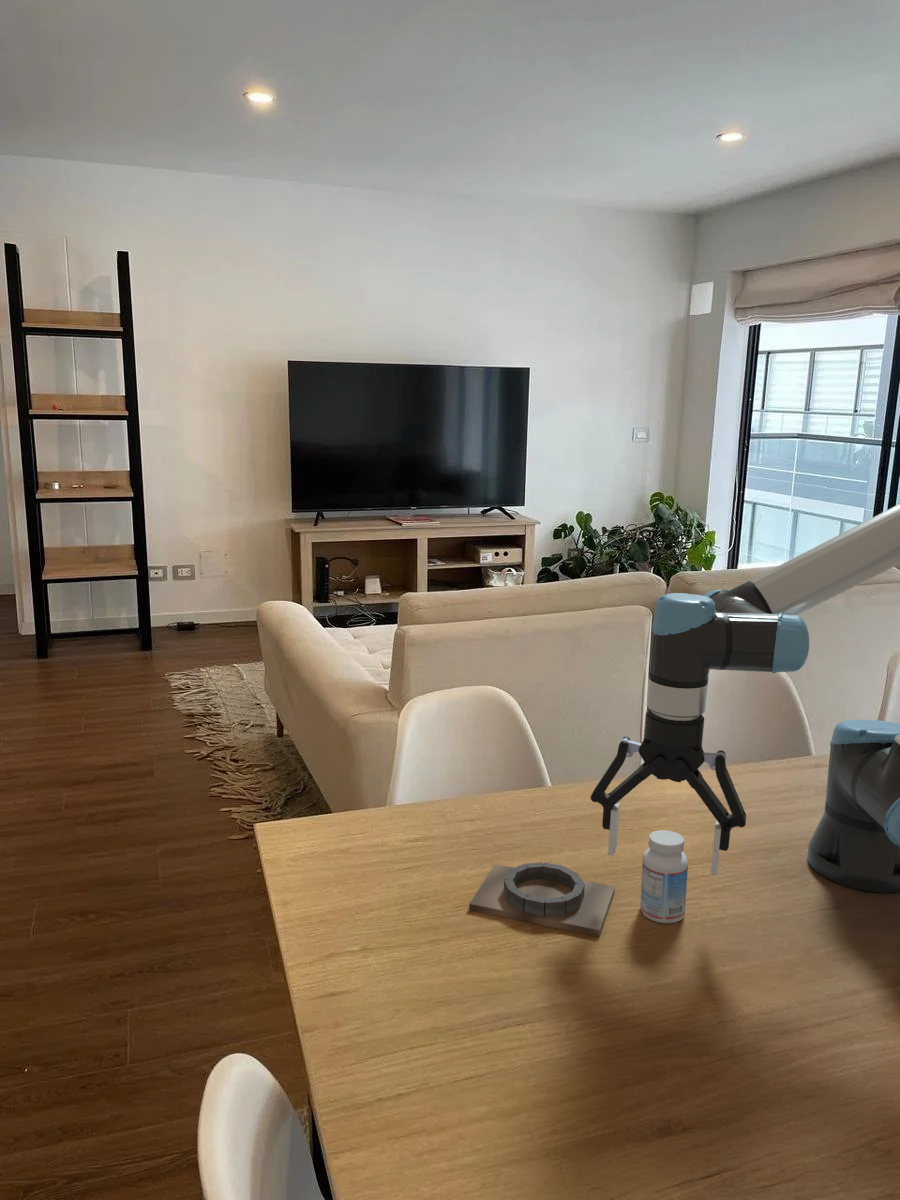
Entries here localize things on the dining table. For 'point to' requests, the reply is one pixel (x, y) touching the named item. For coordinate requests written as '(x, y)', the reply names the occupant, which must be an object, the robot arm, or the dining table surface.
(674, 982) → the dining table surface
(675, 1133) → the dining table surface
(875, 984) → the dining table surface
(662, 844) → the pill bottle
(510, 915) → the holder
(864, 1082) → the dining table surface
